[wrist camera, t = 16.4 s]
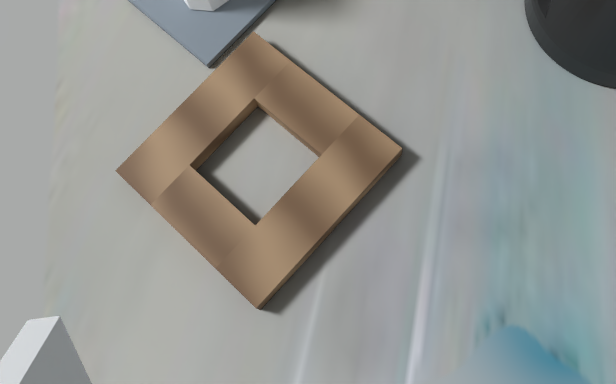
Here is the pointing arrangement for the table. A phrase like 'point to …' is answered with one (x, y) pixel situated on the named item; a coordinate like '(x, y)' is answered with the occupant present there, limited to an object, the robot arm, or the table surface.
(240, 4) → the grey mat
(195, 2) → the pepper shaker
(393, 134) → the table surface
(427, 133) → the table surface
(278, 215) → the walnut frame
